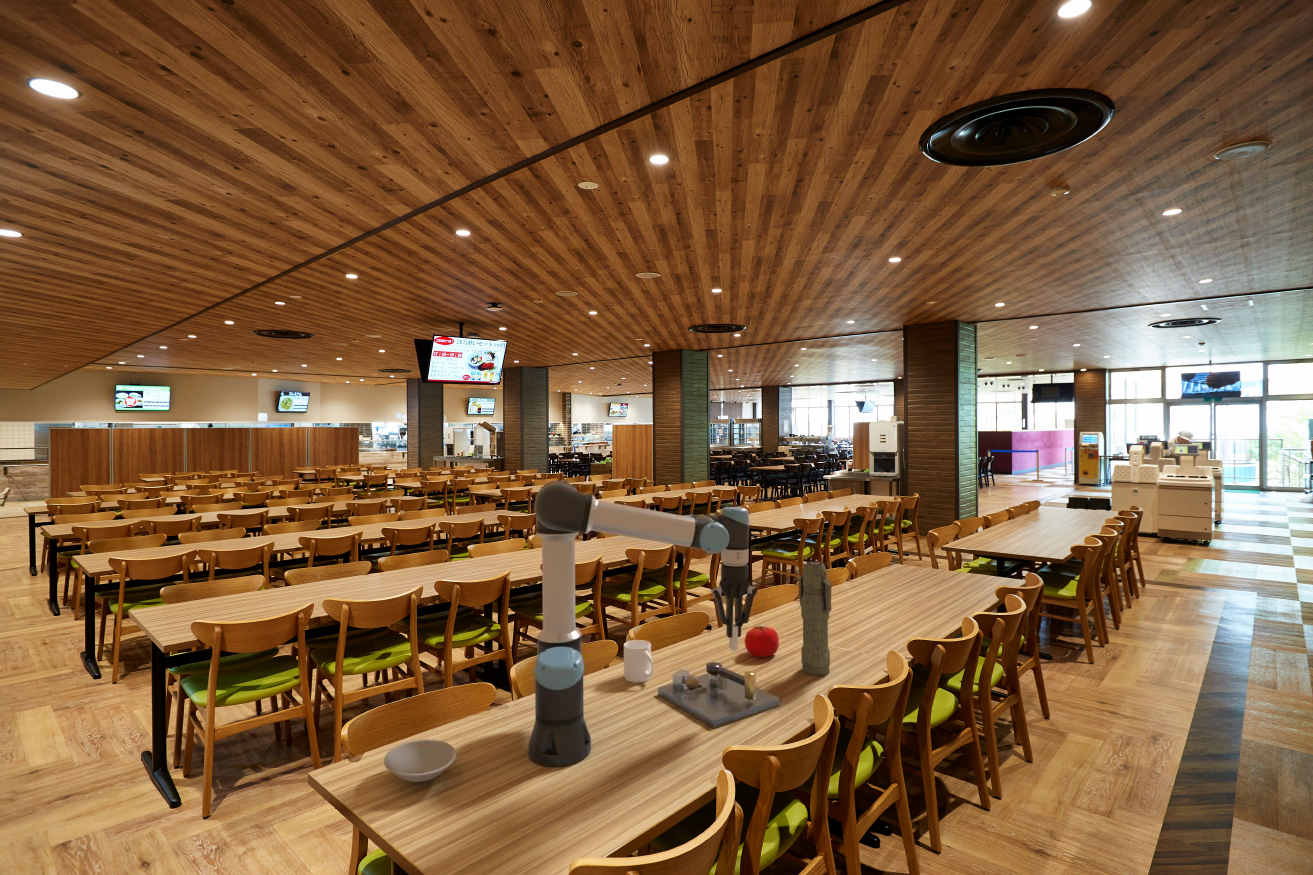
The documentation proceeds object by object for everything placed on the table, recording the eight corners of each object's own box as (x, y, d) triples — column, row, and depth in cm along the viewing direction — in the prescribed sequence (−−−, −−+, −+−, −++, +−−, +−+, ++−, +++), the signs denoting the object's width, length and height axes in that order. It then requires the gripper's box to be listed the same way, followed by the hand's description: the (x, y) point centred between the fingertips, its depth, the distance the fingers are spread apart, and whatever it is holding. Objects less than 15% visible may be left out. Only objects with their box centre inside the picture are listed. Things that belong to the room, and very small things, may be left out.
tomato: (786, 657, 213) (785, 627, 213) (753, 663, 208) (753, 632, 208) (768, 647, 223) (768, 619, 223) (737, 652, 218) (737, 623, 218)
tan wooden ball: (691, 692, 180) (691, 678, 180) (683, 687, 183) (682, 674, 183) (702, 689, 182) (701, 675, 182) (693, 684, 185) (693, 671, 185)
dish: (370, 778, 139) (370, 756, 139) (429, 752, 151) (429, 732, 151) (410, 807, 128) (410, 783, 128) (470, 777, 139) (470, 755, 139)
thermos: (824, 679, 193) (823, 567, 193) (792, 669, 202) (791, 562, 202) (839, 672, 199) (838, 563, 199) (808, 662, 208) (807, 558, 208)
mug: (641, 689, 187) (641, 653, 187) (618, 677, 197) (618, 643, 197) (663, 681, 193) (663, 647, 193) (640, 670, 202) (639, 637, 202)
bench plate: (713, 728, 162) (713, 705, 162) (657, 694, 183) (657, 674, 183) (779, 705, 175) (779, 683, 175) (720, 676, 197) (720, 657, 197)
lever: (747, 701, 170) (747, 676, 170) (702, 680, 185) (702, 657, 185) (760, 697, 173) (760, 672, 173) (714, 676, 188) (714, 654, 188)
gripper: (716, 566, 166) (714, 654, 166) (762, 565, 169) (760, 651, 169) (708, 561, 174) (706, 645, 174) (752, 560, 176) (750, 643, 176)
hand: (733, 648), depth 171 cm, fingers closed
